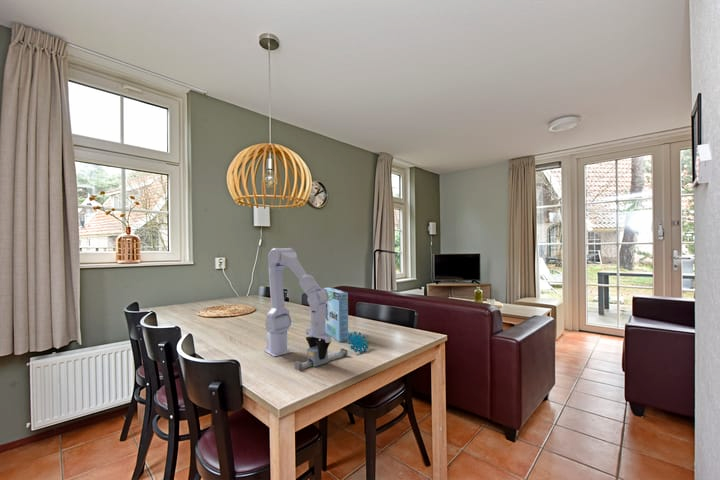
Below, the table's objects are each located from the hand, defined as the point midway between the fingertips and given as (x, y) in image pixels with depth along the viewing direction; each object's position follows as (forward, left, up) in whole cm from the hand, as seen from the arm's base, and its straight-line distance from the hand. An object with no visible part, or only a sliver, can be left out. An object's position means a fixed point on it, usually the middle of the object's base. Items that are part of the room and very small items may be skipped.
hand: (318, 356), depth 121 cm
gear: (-1, +21, -3) cm, 21 cm away
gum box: (-24, +26, -3) cm, 35 cm away
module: (0, 0, -2) cm, 2 cm away
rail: (0, +2, -2) cm, 3 cm away
